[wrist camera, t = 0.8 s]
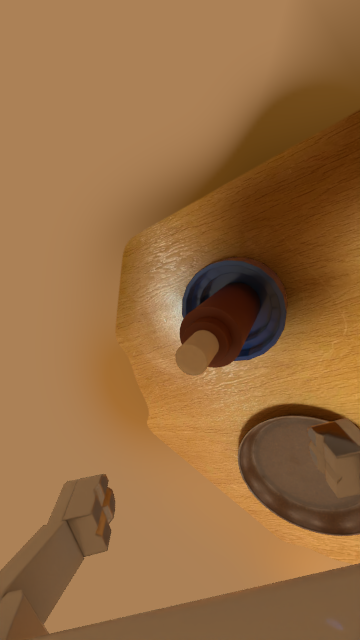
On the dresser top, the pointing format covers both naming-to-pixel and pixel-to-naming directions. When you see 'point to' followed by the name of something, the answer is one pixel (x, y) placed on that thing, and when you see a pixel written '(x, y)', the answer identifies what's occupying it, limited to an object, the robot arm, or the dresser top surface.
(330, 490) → the plant saucer
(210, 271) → the bowl
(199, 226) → the dresser top surface
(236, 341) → the bottle
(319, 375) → the dresser top surface
